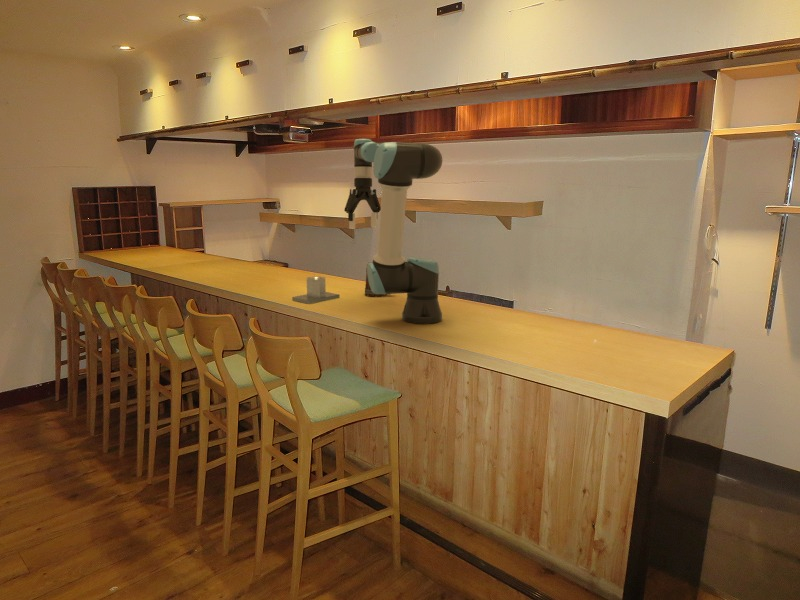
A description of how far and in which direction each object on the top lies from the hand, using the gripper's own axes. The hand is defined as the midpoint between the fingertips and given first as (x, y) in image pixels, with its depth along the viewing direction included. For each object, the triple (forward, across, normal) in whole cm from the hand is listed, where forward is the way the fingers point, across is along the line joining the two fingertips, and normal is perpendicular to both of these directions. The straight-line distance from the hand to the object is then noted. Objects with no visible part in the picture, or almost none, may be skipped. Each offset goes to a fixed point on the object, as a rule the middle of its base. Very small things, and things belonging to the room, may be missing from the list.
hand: (363, 228), depth 228 cm
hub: (+30, +12, -17) cm, 37 cm away
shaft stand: (+32, +12, -18) cm, 38 cm away
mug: (+32, -14, -2) cm, 35 cm away
